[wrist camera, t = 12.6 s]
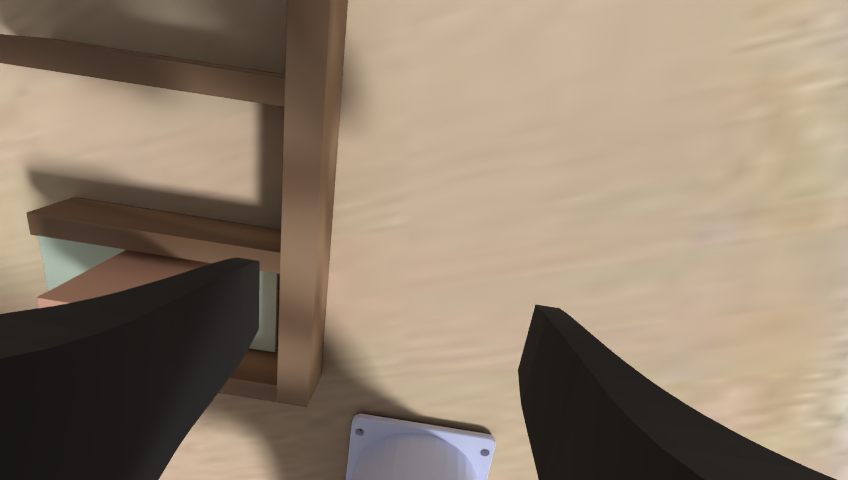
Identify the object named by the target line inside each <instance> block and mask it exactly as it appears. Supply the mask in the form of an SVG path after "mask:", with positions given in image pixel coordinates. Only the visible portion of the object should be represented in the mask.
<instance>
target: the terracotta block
mask: <svg viewBox="0 0 848 480" xmlns="http://www.w3.org/2000/svg"><path fill="white" fill-rule="evenodd" d="M208 264H212V263H207V262H201V261H195V260H188V259H182V258H176V257H169V256H163V255H157V254H150V253H144V252H138V251H132V250H125V251H123V252H121V253H119V254H117V255H115V256H113V257H112V258H110V259H108V260H106V261H104V262H102V263H100V264H98V265H97V266H95V267H93V268H91V269H89V270H87V271H85V272H83V273H82V274H80V275H78V276H76V277H74V278H72V279H70V280H68V281H67V282H65V283H63V284H61V285H59V286H57V287H55V288H53V289H52V290H50V291H48V292H46V293H44V294H42V295H40V296H38V297H37V303H38V308H44V307H50V306H57V305H62V304H67V303H72V302H77V301H81V300H86V299H91V298H96V297H100V296H104V295H108V294H112V293H116V292H120V291H124V290H127V289H130V288H134V287H137V286H141V285H144V284H148V283H151V282H155V281H158V280H162V279H165V278H168V277H171V276H174V275H177V274H180V273H184V272H187V271H190V270H193V269H196V268H199V267H202V266H205V265H208Z"/></svg>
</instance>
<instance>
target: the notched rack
mask: <svg viewBox="0 0 848 480" xmlns="http://www.w3.org/2000/svg"><path fill="white" fill-rule="evenodd" d="M347 5H348V0H287V32H286V69H285V75H283V74H276V73H270V72H263V71H257V70H250V69H244V68H237V67H231V66H224V65H218V64H211V63H205V62H198V61H192V60H186V59H179V58H173V57H166V56H160V55H153V54H147V53H140V52H134V51H127V50H121V49H114V48H108V47H101V46H95V45H88V44H82V43H75V42H69V41H62V40H56V39H48V38H37V37H26V36H15V35H4V34H0V63H4V64H11V65H17V66H24V67H30V68H37V69H43V70H50V71H56V72H63V73H69V74H76V75H82V76H89V77H95V78H101V79H108V80H114V81H121V82H127V83H134V84H140V85H147V86H153V87H160V88H166V89H173V90H179V91H186V92H192V93H198V94H205V95H211V96H218V97H224V98H231V99H237V100H244V101H250V102H257V103H263V104H270V105H276V106H283V107H284V144H283V182H282V220H281V230H278V229H271V228H265V227H259V226H252V225H246V224H240V223H233V222H227V221H221V220H214V219H208V218H202V217H195V216H189V215H183V214H176V213H170V212H163V211H157V210H151V209H144V208H138V207H132V206H125V205H119V204H113V203H106V202H100V201H94V200H87V199H81V198H71V199H68V200H64V201H61V202H58V203H55V204H52V205H49V206H46V207H43V208H40V209H37V210H33V211H30V212H27V218H28V223H29V229H30V234H31V235H37V236H38V241H39V246H40V251H41V256H42V262H43V267H44V272H45V278H46V283H47V288H48V291H50V290H52V289H53V288H55V287H57V286H59V285H61V284H63V283H65V282H67V281H68V280H70V279H72V278H74V277H76V276H78V275H80V274H82V273H83V272H85V271H87V270H89V269H91V268H93V267H95V266H97V265H98V264H100V263H102V262H104V261H106V260H108V259H110V258H112V257H113V256H115V255H117V254H119V253H121V252H123V251H125V250H132V251H138V252H144V253H150V254H157V255H163V256H169V257H176V258H182V259H188V260H195V261H201V262H207V263H215V262H218V261H222V260H226V259H230V258H236V257H238V258H244V259H250V260H257V261H260V292H259V330H258V332H257V334H256V336H255V338H254V340H253V342H252V343H251V345H250V347H249V349H248V351H247V352H246V354H245V356H244V358H243V360H242V361H241V362H240V364H239V365H238V367H237V368H236V369H235V371H234V372H233V373H232V375H231V376H230V377H229V379H228V380H227V381H226V383H225V384H224V386H223V387H222V388H221V389H220V391H219V392H218V393H223V394H230V395H236V396H242V397H248V398H254V399H261V400H267V401H273V402H279V403H285V404H292V405H298V406H304V407H307V406H308V403H309V401H310V399H311V396H312V394H313V392H314V390H315V387H316V385H317V383H318V381H319V378H320V376H321V372H322V358H323V344H324V330H325V316H326V301H327V287H328V273H329V259H330V245H331V231H332V217H333V203H334V188H335V174H336V160H337V146H338V132H339V118H340V104H341V90H342V76H343V61H344V47H345V33H346V19H347ZM278 274H280V295H279V332H278V352H275V351H276V345H277V305H278Z"/></svg>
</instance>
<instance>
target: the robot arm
mask: <svg viewBox="0 0 848 480" xmlns="http://www.w3.org/2000/svg"><path fill="white" fill-rule="evenodd" d="M259 292H260V261H257V260H250V259H244V258H238V257H236V258H230V259H226V260H222V261H218V262H215V263H212V264H208V265H205V266H202V267H199V268H196V269H193V270H190V271H187V272H184V273H180V274H177V275H174V276H171V277H168V278H165V279H162V280H158V281H155V282H151V283H148V284H144V285H141V286H137V287H134V288H130V289H127V290H124V291H120V292H116V293H112V294H108V295H104V296H100V297H96V298H91V299H86V300H81V301H77V302H72V303H67V304H62V305H57V306H50V307H44V308H38V309H31V310H25V311H18V312H12V313H5V314H0V480H158V479H159V478H160V476H161V474H162V473H163V471H164V470H165V468H166V466H167V465H168V463H169V461H170V460H171V458H172V456H173V455H174V453H175V451H176V450H177V448H178V447H179V445H180V444H181V442H182V441H183V439H184V438H185V436H186V435H187V433H188V432H189V431H190V429H191V428H192V427H193V425H194V424H195V423H196V421H197V420H198V419H199V417H200V416H201V415H202V413H203V412H204V411H205V409H206V408H207V407H208V405H209V404H210V403H211V401H212V400H213V399H214V397H215V396H216V395H217V393H218V392H219V391H220V389H221V388H222V387H223V386H224V384H225V383H226V381H227V380H228V379H229V377H230V376H231V375H232V373H233V372H234V371H235V369H236V368H237V367H238V365H239V364H240V362H241V361H242V360H243V358H244V356H245V354H246V352H247V351H248V349H249V347H250V345H251V343H252V342H253V340H254V338H255V336H256V334H257V332H258V330H259ZM518 375H519V387H520V397H521V406H522V410H523V415H524V419H525V423H526V428H527V432H528V436H529V440H530V445H531V449H532V453H533V457H534V461H535V465H536V470H537V474H538V478H539V480H836V479H834V478H831V477H829V476H827V475H824V474H822V473H819V472H817V471H814V470H812V469H810V468H808V467H805V466H803V465H801V464H799V463H797V462H795V461H793V460H790V459H788V458H786V457H784V456H782V455H780V454H778V453H776V452H773V451H771V450H769V449H767V448H765V447H763V446H761V445H759V444H757V443H755V442H753V441H751V440H749V439H747V438H745V437H743V436H741V435H739V434H737V433H736V432H734V431H732V430H730V429H728V428H726V427H725V426H723V425H721V424H719V423H717V422H716V421H714V420H712V419H710V418H708V417H707V416H705V415H703V414H701V413H700V412H698V411H696V410H695V409H693V408H691V407H690V406H688V405H686V404H685V403H683V402H682V401H680V400H679V399H677V398H676V397H674V396H672V395H671V394H669V393H668V392H666V391H665V390H663V389H662V388H660V387H659V386H657V385H656V384H654V383H653V382H651V381H650V380H649V379H647V378H646V377H645V376H643V375H642V374H641V373H639V372H638V371H637V370H635V369H634V368H633V367H631V366H630V365H629V364H627V363H626V362H625V361H623V360H622V359H621V358H620V357H618V356H617V355H616V354H615V353H613V352H612V351H611V350H610V349H608V348H607V347H606V346H605V345H604V344H602V343H601V342H600V341H599V340H598V339H597V338H595V337H594V336H593V335H592V334H591V333H590V332H588V331H587V330H586V329H585V328H584V327H583V326H581V325H580V324H579V323H578V322H577V321H575V320H574V319H573V318H572V317H571V316H569V315H568V314H567V313H565V312H564V311H563V310H561V309H559V308H554V307H548V306H541V305H535V309H534V313H533V316H532V320H531V324H530V327H529V331H528V335H527V339H526V342H525V346H524V350H523V354H522V357H521V361H520V365H519V369H518ZM358 429H362V430H363V431H360V430H358ZM495 445H496V444H495V439H494V437H493V436H492V435H490V434H485V433H479V432H473V431H466V430H460V429H454V428H448V427H442V426H435V425H429V424H423V423H417V422H411V421H404V420H398V419H392V418H386V417H380V416H373V415H367V414H357V415H355V416H354V418H353V421H352V425H351V435H350V444H349V453H348V463H347V472H346V480H487V477H488V473H489V469H490V465H491V462H492V458H493V454H494V450H495ZM482 449H487V450H484V451H483V450H482Z"/></svg>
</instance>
